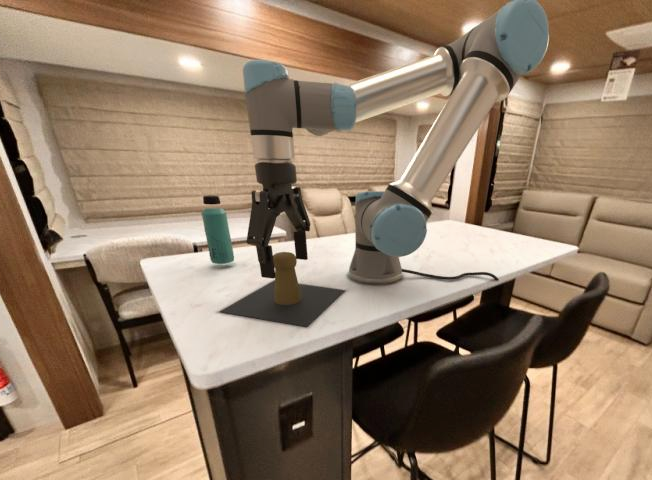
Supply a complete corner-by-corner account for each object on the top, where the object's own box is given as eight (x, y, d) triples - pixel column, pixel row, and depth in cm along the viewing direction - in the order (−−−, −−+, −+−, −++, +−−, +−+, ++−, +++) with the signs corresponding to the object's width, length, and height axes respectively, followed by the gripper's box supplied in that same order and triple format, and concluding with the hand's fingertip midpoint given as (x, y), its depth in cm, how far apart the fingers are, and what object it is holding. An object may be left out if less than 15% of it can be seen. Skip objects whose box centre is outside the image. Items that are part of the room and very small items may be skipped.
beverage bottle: (239, 263, 95) (229, 195, 87) (227, 270, 89) (215, 197, 81) (219, 261, 95) (207, 193, 87) (206, 268, 89) (191, 196, 81)
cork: (286, 307, 67) (282, 258, 63) (268, 300, 70) (262, 253, 66) (307, 298, 72) (304, 252, 67) (288, 292, 75) (284, 248, 70)
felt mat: (344, 290, 78) (344, 290, 78) (306, 327, 60) (306, 326, 60) (274, 281, 82) (274, 280, 82) (219, 312, 64) (219, 311, 64)
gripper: (291, 162, 71) (299, 251, 80) (209, 160, 49) (233, 284, 58) (321, 162, 69) (326, 254, 78) (250, 161, 47) (268, 289, 56)
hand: (286, 267), depth 68 cm, fingers open, 13 cm apart
